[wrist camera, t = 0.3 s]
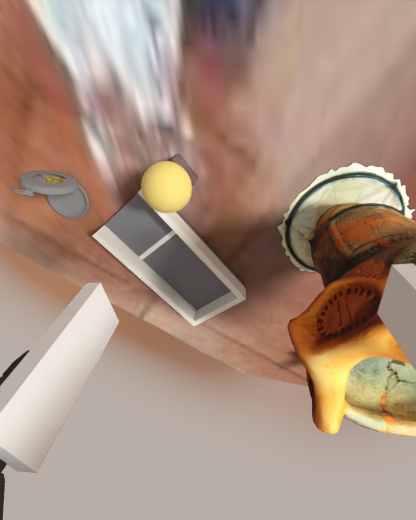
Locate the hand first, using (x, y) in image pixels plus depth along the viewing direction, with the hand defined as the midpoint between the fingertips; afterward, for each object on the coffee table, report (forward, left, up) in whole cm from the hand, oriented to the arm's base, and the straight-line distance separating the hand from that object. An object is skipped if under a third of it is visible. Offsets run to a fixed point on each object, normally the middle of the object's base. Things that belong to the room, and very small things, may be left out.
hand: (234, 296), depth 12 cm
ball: (-5, -7, -23) cm, 24 cm away
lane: (+5, -17, -26) cm, 32 cm away
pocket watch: (-14, -22, -27) cm, 37 cm away
